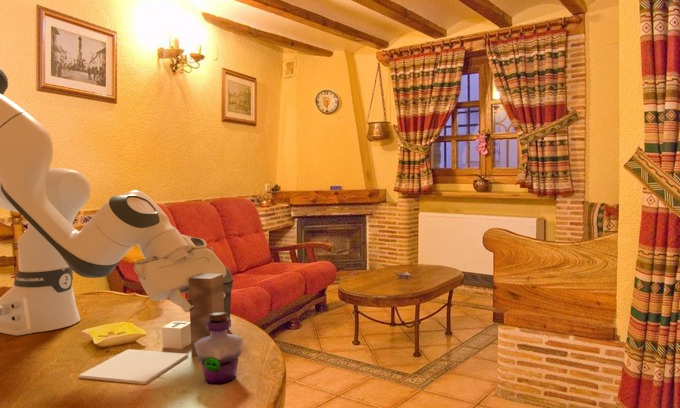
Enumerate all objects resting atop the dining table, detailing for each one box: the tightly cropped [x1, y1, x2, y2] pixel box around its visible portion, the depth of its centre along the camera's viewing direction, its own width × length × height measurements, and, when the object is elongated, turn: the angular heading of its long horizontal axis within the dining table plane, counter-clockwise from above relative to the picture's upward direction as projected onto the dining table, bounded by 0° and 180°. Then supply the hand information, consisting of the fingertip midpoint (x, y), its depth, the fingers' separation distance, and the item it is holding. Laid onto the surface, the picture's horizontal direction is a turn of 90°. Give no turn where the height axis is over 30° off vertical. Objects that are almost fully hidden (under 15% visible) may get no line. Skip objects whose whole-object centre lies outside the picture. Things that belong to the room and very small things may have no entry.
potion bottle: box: [194, 312, 244, 386], centre depth 92 cm, size 9×9×12 cm
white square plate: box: [78, 348, 189, 385], centre depth 99 cm, size 14×14×1 cm
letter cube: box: [161, 320, 191, 350], centre depth 111 cm, size 4×4×5 cm
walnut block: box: [188, 273, 224, 357], centre depth 106 cm, size 5×5×16 cm
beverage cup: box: [210, 245, 234, 331], centre depth 120 cm, size 7×7×20 cm
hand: (206, 303), depth 105 cm, fingers open, 8 cm apart
